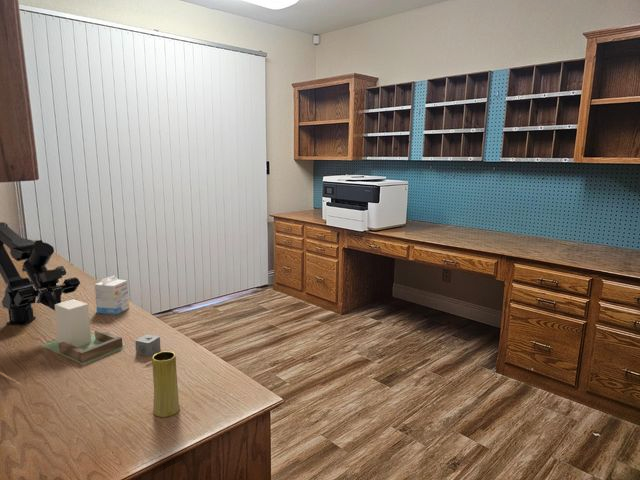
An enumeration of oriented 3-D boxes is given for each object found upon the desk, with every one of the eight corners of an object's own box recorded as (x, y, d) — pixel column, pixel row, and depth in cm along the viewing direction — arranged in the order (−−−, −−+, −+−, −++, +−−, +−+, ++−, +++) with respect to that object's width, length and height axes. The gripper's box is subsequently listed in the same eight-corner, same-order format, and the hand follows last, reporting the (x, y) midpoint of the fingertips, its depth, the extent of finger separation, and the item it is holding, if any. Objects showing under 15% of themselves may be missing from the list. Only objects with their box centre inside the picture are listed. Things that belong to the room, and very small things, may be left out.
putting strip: (41, 346, 136) (41, 345, 136) (84, 331, 148) (84, 330, 148) (83, 366, 124) (83, 364, 124) (126, 348, 136) (126, 347, 136)
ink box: (115, 315, 163) (113, 281, 160) (96, 313, 164) (93, 279, 162) (129, 308, 171) (127, 275, 168) (111, 306, 173) (108, 273, 170)
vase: (157, 403, 107) (154, 350, 105) (182, 402, 108) (180, 349, 105) (149, 418, 102) (146, 362, 99) (176, 417, 102) (174, 361, 99)
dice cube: (149, 358, 131) (148, 343, 130) (136, 355, 132) (135, 340, 131) (160, 351, 135) (159, 336, 134) (147, 348, 137) (146, 334, 136)
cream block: (58, 342, 138) (54, 304, 135) (76, 336, 143) (73, 299, 140) (72, 349, 134) (69, 309, 131) (91, 342, 139) (88, 303, 136)
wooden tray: (59, 352, 131) (58, 343, 131) (99, 337, 142) (99, 329, 142) (82, 362, 125) (81, 353, 125) (122, 346, 136) (122, 337, 136)
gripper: (14, 265, 132) (37, 307, 128) (74, 254, 147) (96, 290, 144) (4, 285, 137) (26, 326, 134) (63, 272, 153) (84, 308, 149)
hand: (60, 311), depth 140 cm, fingers closed
